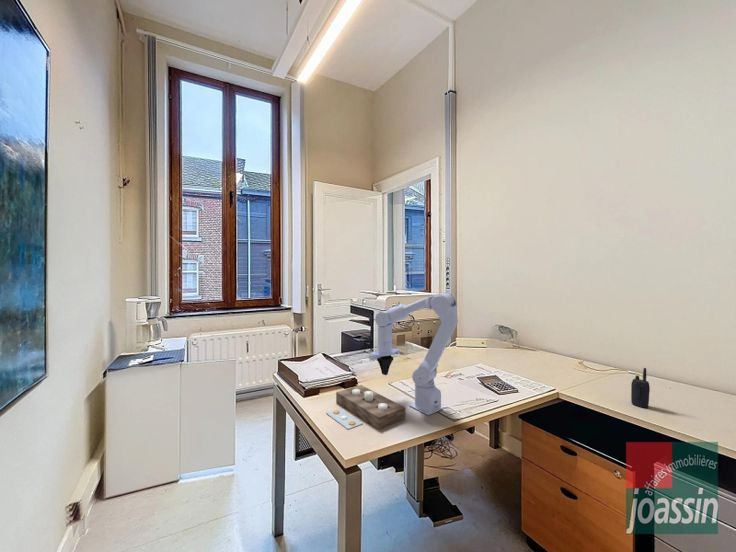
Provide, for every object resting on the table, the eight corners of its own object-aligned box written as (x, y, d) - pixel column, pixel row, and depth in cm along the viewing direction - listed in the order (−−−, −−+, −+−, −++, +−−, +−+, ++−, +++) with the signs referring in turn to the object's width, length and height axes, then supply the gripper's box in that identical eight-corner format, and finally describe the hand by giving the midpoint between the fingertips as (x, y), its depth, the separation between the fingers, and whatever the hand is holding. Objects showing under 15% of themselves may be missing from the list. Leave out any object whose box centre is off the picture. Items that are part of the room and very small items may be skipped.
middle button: (374, 403, 118) (374, 392, 118) (368, 406, 116) (368, 395, 116) (369, 400, 120) (369, 390, 120) (362, 402, 118) (362, 392, 118)
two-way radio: (650, 407, 121) (652, 368, 120) (645, 410, 118) (646, 370, 118) (632, 402, 125) (634, 364, 125) (627, 404, 123) (628, 366, 123)
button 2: (389, 416, 112) (389, 405, 111) (382, 419, 110) (382, 407, 109) (383, 413, 114) (383, 402, 114) (376, 415, 112) (376, 404, 112)
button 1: (361, 401, 124) (362, 390, 124) (355, 403, 122) (355, 392, 122) (357, 398, 127) (357, 388, 127) (350, 400, 125) (350, 390, 125)
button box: (405, 418, 112) (405, 407, 111) (378, 429, 104) (378, 417, 104) (361, 394, 132) (361, 384, 132) (336, 402, 125) (336, 392, 125)
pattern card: (362, 424, 108) (362, 422, 108) (348, 429, 104) (348, 428, 104) (340, 409, 119) (340, 407, 119) (326, 413, 115) (326, 412, 115)
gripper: (391, 336, 136) (391, 368, 137) (364, 341, 127) (364, 375, 128) (403, 339, 131) (403, 372, 131) (375, 345, 122) (375, 380, 122)
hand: (384, 374), depth 129 cm, fingers closed
